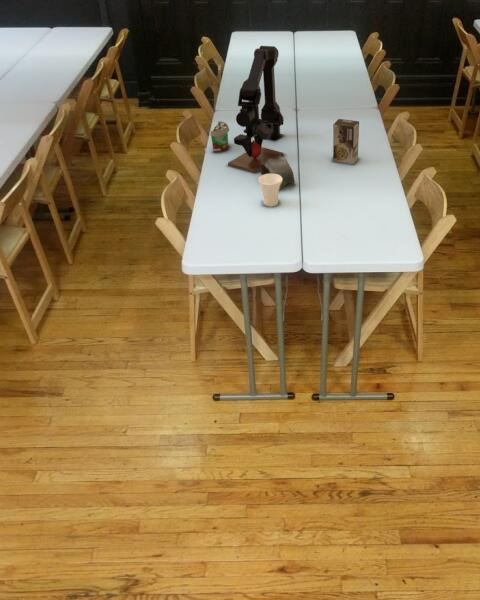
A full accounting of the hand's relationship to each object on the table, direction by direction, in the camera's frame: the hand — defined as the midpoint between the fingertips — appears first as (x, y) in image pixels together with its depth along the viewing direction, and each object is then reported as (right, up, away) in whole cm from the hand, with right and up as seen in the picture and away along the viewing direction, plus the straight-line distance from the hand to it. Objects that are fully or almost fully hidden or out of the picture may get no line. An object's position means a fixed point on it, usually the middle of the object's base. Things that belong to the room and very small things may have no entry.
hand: (254, 153), depth 260 cm
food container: (-14, +5, +13) cm, 20 cm away
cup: (+8, -25, -27) cm, 38 cm away
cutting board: (+1, -2, +2) cm, 3 cm away
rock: (+10, -14, -14) cm, 22 cm away
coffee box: (+38, -3, 0) cm, 38 cm away
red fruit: (0, -2, +1) cm, 2 cm away
